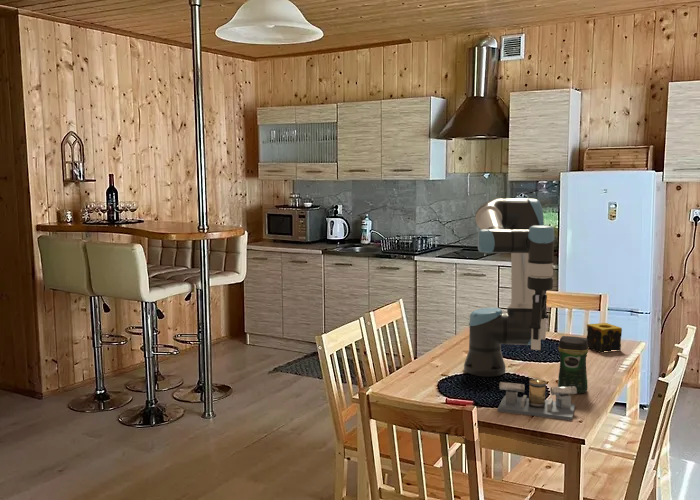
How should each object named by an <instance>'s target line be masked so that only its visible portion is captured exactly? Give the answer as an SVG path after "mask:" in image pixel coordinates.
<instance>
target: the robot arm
mask: <svg viewBox="0 0 700 500" xmlns="http://www.w3.org/2000/svg"><path fill="white" fill-rule="evenodd" d="M474 219H475V223H476V226H477V227H478V228H479V230H478V233H477V250H478V251H479V253H485V254H486V253H487V254H502V253H503V254H509V253H510V254H511V256H510V257H511V258H510V259H511V261H510V263H511V264H510V265H511V266H510V267H511V269H510V270H511V271H510V272H511V276H510V277H511V280H510V281H511V283H510V284H511V285H510V286H511V287H510V288H511V303H510V304H509V305H508V306H507V307H506V308H507V309H506V312H505V311H504V312H503V311H502V310H503V309H502V308H499V307H483V308H479V309H475V310H473V311H472V312H471V313H470V314H469V322H468V326H469V330H468V331H469V332H468V333H469V335H468V336H469V337H468V338H469V339H468V340H469V341H468V351H467V354H466V357H465V361H464V364H463V372H465V373H466V374H469V375H471V376H477V377H487V378H488V377H499V376H501V375H502V376H503V375H504V374H506V364H505V361H504V357H503V353H502V345H519V346H520V345H521V346H523V345H524V346H529V345H530V350H535V351H541V349H542V348H541V346H542V345H541V343H542V342H541V341H542V340H546V334H547V333H546V332H547V331H546V330H547V329H546V328H547V319H549V314H548V313H547V311H548V310H547V300H548V294H547V291H551V290H553V289H554V288H553V287H554V285H553V284H554V278H553V277H552V276H554V270H556V265H554V255H555V254H554V253H555V251H554V250H555V239H556V237H555V229H554V227H553V226H552V225H544V221H545V220H544V219H545V218H544V211H543V207H542V204H541V202H540V200H539V199H536V198H528V197H526V198H522V197H521V198H493V199H490V200H488V201H487V202H485V203H483V204H481V205H480V206H479V207H478V208H477V210H476V212H475V216H474Z"/></svg>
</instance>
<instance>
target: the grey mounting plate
mask: <svg viewBox="0 0 700 500" xmlns="http://www.w3.org/2000/svg"><path fill="white" fill-rule="evenodd" d="M575 408H576V403H575V402H574V403H572V402H571V409H560V408H559V407H558V406H556V400H554V398H552V397H550V398H548V399H547V400H546V399H545V407H544V408H532V407H530V406H529V397H528V396H527V395H525V394H523V396H517V403H516V405H508V404H506V395H504V396H503V398H502V399H501V402H500V403H499V405H498V407H497V412H500V413H506V414H507V413H508V414H517V415H525V416H532V417H540V418H541V417H542V418H549V419H558V420H564V421H565V420H566V421H573V418H574V413H575Z"/></svg>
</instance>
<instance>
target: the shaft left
mask: <svg viewBox="0 0 700 500" xmlns="http://www.w3.org/2000/svg"><path fill="white" fill-rule="evenodd" d="M525 386H526V385H525V383H524V384H523V383H516V382H515V383H514V382H508V381H507V382H505V381H499V386H498V387H499V388H498V389H499V390H501V391H505V396H506V404H508V405H516V403H517V397H518V396H519V395H518V394H519V393H520V392H521V393H525ZM518 392H519V393H518Z"/></svg>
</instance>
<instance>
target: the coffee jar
mask: <svg viewBox="0 0 700 500" xmlns="http://www.w3.org/2000/svg"><path fill="white" fill-rule="evenodd" d="M558 353H559V357H560V358H559V360H560V361H559V369H558V378H557V387H569V386H575V387H576V389H577V393H576V394H584V393H587V391H588V389H589V388H588V387H589V386H588V374H587V355H588V353H589V348H588V341H587V337H580V336H572V335H570V336H569V335H568V336H567V335H562V336H561V337H560V339H559V343H558Z"/></svg>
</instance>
